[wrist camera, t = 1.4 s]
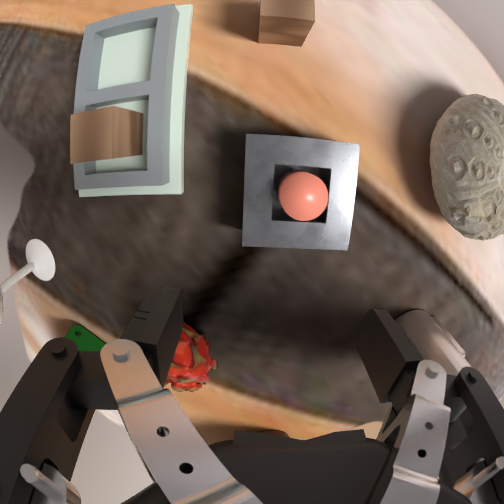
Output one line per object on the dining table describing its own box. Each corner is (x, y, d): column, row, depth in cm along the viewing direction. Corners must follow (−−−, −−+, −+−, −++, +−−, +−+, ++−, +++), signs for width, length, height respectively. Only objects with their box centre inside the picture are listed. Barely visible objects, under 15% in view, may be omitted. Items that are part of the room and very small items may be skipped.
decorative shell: (470, 247, 31) (514, 276, 21) (390, 188, 28) (441, 208, 19) (508, 147, 25) (554, 157, 15) (436, 70, 22) (488, 57, 13)
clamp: (90, 329, 41) (51, 350, 33) (96, 314, 38) (51, 337, 30) (131, 384, 39) (94, 412, 32) (141, 375, 36) (99, 406, 29)
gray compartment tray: (193, 7, 20) (187, -7, 17) (183, 192, 28) (175, 198, 25) (93, 28, 20) (79, 20, 17) (83, 195, 28) (67, 201, 25)
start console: (342, 144, 26) (359, 144, 22) (333, 234, 30) (347, 250, 25) (247, 136, 26) (245, 133, 22) (243, 230, 30) (242, 246, 25)
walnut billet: (301, 14, 21) (313, -15, 14) (301, 46, 22) (314, 20, 16) (259, 11, 21) (261, -21, 14) (258, 43, 22) (260, 15, 16)
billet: (143, 113, 24) (112, 105, 18) (142, 154, 26) (111, 159, 19) (106, 118, 24) (70, 114, 18) (106, 158, 26) (70, 163, 19)
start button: (318, 171, 25) (330, 175, 21) (315, 211, 27) (325, 222, 23) (277, 167, 25) (282, 171, 21) (275, 209, 26) (279, 219, 23)
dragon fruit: (209, 361, 39) (161, 298, 37) (244, 365, 33) (187, 289, 31) (171, 399, 33) (116, 334, 31) (201, 414, 27) (132, 336, 25)
